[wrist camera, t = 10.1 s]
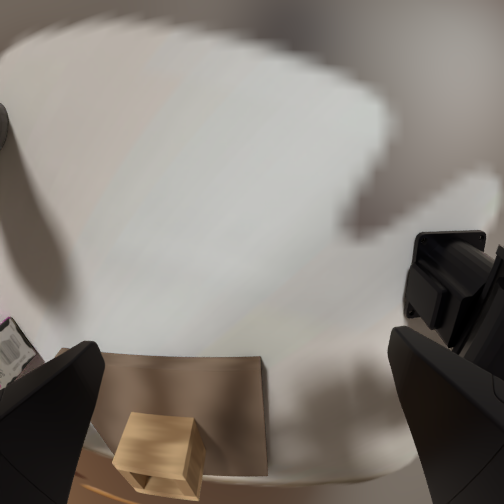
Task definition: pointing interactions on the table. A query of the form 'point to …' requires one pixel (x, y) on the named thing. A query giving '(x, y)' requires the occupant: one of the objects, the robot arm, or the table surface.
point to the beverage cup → (3, 125)
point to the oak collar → (162, 455)
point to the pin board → (190, 404)
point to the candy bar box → (13, 352)
